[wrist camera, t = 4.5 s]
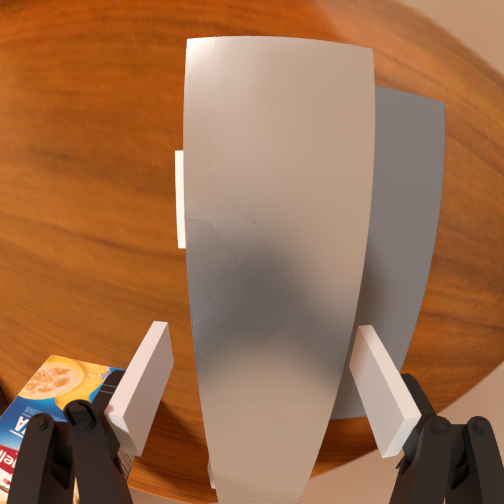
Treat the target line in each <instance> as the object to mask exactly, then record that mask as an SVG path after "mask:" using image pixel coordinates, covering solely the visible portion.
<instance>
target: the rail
mask: <svg viewBox="0 0 504 504" xmlns="http://www.w3.org/2000/svg"><path fill="white" fill-rule="evenodd" d="M374 146H375V84H374V62H373V49H370V48H365V47H360V46H355V45H349V44H343V43H336V42H329V41H321V40H312V39H302V38H289V37H270V36H227V37H208V38H195V39H187V52H186V69H185V90H184V126H183V181H184V219H185V242H186V260H187V276H188V290H189V303H190V314H191V325H192V335H193V345H194V354H195V363H196V371H197V379H198V387H199V394H200V401H201V408H202V415H203V421H204V428H205V434H206V440H207V446H208V452H209V457H210V463H211V468H212V473H213V478H214V483H215V488H216V493H217V498H218V502H219V504H299V502H300V500H301V497H302V495H303V492H304V490H305V487H306V485H307V482H308V480H309V477H310V475H311V472H312V469H313V467H314V464H315V461H316V458H317V455H318V453H319V450H320V447H321V444H322V441H323V438H324V435H325V432H326V429H327V425H328V422H329V419H330V416H331V412H332V409H333V406H334V402H335V399H336V395H337V391H338V388H339V384H340V380H341V376H342V372H343V368H344V364H345V360H346V356H347V352H348V347H349V343H350V338H351V334H352V329H353V324H354V319H355V314H356V309H357V303H358V298H359V292H360V286H361V280H362V274H363V267H364V260H365V253H366V245H367V237H368V229H369V219H370V209H371V198H372V185H373V169H374Z"/></svg>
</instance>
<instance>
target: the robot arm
mask: <svg viewBox="0 0 504 504" xmlns="http://www.w3.org/2000/svg"><path fill="white" fill-rule="evenodd" d="M173 364H174V360H173V354H172V348H171V341H170V335H169V328H168V322H157V321H154V322H153V324H152V326H151V327H150V329H149V331H148V333H147V334H146V336H145V338H144V340H143V341H142V343H141V345H140V347H139V349H138V350H137V352H136V354H135V356H134V357H133V359H132V361H131V363H130V365H129V367H128V368H127V370H126V371H120V370H115V371H113V372H112V373H111V374H109V375H108V376H107V378H106V379H105V381H104V383H103V385H102V386H101V388H100V390H99V391H98V393H97V395H96V396H95V398H94V400H93V402H92V403H90V402H89V401H87V400H84V399H76V400H73V401H71V402H69V403H68V404H66V406H65V407H64V409H63V415H64V416H65V418H66V420H67V422H64V421H54V419H53V417H52V416H51V415H50V414H47V413H37V414H35V415H33V416H32V417H31V418H30V420H29V421H28V424H27V427H26V430H25V433H24V436H23V439H22V442H21V445H20V449H19V452H18V456H17V459H16V463H15V467H14V471H13V475H12V479H11V483H10V488H9V492H8V497H7V502H6V504H73V497H74V486H75V478H76V481H77V487H78V493H79V498H80V503H81V504H133V501H132V498H131V495H130V492H129V489H128V486H127V482H126V479H125V475H124V472H123V468H122V465H121V461H120V457H119V455H118V454H117V453H118V451H119V448H120V446H121V448H122V450H123V452H124V453H126V454H130V455H134V456H139V457H141V455H142V452H143V449H144V446H145V443H146V440H147V437H148V434H149V431H150V428H151V425H152V423H153V420H154V417H155V414H156V411H157V408H158V406H159V403H160V400H161V397H162V394H163V392H164V389H165V386H166V383H167V381H168V378H169V375H170V372H171V370H172V367H173ZM349 368H350V370H351V373H352V376H353V378H354V381H355V384H356V386H357V389H358V392H359V395H360V397H361V400H362V403H363V406H364V408H365V411H366V414H367V417H368V420H369V423H370V426H371V428H372V431H373V434H374V437H375V440H376V443H377V446H378V449H379V452H380V455H381V458H387V457H391V456H396V455H398V453H399V452H400V450H401V449H402V448H403V451H404V453H405V455H404V456H403V458H402V459H401V461H400V462H399V463H398V465H397V467H396V469H398V468H399V467H400V469H399V472H398V476H397V479H396V483H395V486H394V490H393V493H392V496H391V499H390V502H389V504H443V503H444V498H445V504H504V468H503V464H502V460H501V456H500V453H499V449H498V446H497V442H496V439H495V436H494V432H493V429H492V427H491V424H490V422H489V421H488V420H487V419H486V418H484V417H481V416H475V417H472V418H471V419H470V420H469V421H468V422H467V424H451V423H450V422H449V421H448V420H447V419H446V418H444V417H441V416H437V415H436V413H435V411H434V409H433V408H432V406H431V404H430V402H429V401H428V399H427V397H426V395H424V392H423V390H422V388H421V387H420V385H419V383H418V382H417V380H416V379H415V378H414V377H413V376H411V375H410V374H409V373H406V374H399V372H398V370H397V369H396V367H395V365H394V363H393V361H392V360H391V358H390V356H389V354H388V353H387V351H386V349H385V347H384V346H383V344H382V342H381V340H380V339H379V337H378V335H377V334H376V332H375V330H374V329H373V327H372V325H363V326H358V329H357V334H356V338H355V343H354V347H353V351H352V355H351V359H350V363H349ZM7 408H8V405H7V401H6V399H5V396H4V394H3V393H2V391H1V389H0V418H1V416H2V415H3V414H4V412H5V411H6V410H7Z"/></svg>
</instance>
